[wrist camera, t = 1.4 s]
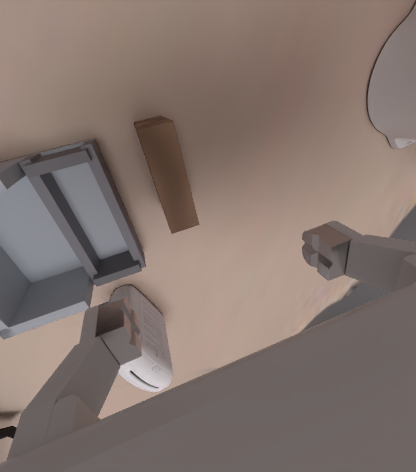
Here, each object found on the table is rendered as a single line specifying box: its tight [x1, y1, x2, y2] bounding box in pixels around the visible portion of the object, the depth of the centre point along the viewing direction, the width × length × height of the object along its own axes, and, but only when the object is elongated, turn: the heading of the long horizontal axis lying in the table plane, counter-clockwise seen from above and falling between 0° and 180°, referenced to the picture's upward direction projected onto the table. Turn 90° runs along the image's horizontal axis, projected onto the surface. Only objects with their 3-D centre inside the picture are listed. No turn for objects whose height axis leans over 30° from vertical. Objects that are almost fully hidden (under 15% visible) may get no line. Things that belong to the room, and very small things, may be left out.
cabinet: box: [0, 138, 146, 339], centre depth 25 cm, size 15×15×8 cm
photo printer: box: [110, 285, 173, 392], centre depth 33 cm, size 10×4×12 cm, turn 27°
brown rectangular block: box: [134, 116, 199, 234], centre depth 25 cm, size 3×10×8 cm, turn 12°
